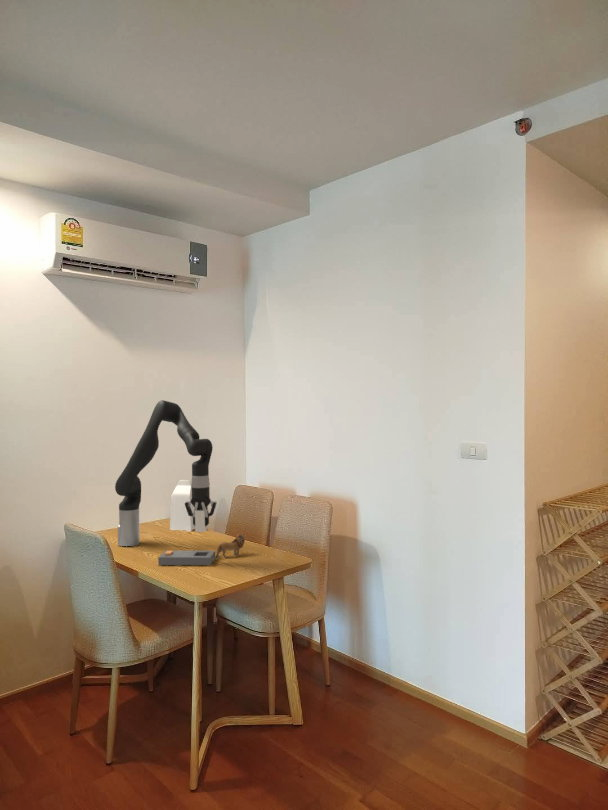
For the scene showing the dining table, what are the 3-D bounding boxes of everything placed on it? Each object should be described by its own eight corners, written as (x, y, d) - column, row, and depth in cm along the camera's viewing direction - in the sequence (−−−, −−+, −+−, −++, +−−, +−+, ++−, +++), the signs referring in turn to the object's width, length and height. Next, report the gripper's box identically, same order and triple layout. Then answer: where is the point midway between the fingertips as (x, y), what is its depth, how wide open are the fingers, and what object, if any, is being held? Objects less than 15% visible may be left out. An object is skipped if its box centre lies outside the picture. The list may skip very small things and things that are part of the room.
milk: (169, 530, 286) (169, 481, 285) (179, 525, 297) (179, 478, 296) (190, 531, 283) (190, 482, 282) (199, 526, 294) (199, 479, 294)
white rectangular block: (195, 531, 228) (195, 510, 228) (197, 529, 232) (197, 508, 232) (204, 531, 228) (204, 510, 228) (206, 529, 232) (206, 508, 232)
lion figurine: (241, 552, 245) (241, 532, 245) (247, 554, 240) (247, 534, 240) (212, 557, 236) (212, 537, 236) (217, 560, 232) (217, 540, 232)
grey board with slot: (158, 565, 226) (158, 555, 226) (165, 558, 236) (165, 548, 236) (210, 565, 225) (210, 555, 225) (215, 558, 235) (215, 548, 235)
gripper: (181, 487, 226) (182, 527, 226) (215, 487, 226) (215, 527, 226) (186, 484, 234) (186, 523, 234) (218, 484, 233) (219, 523, 233)
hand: (201, 525), depth 230 cm, fingers closed on white rectangular block, 4 cm apart
